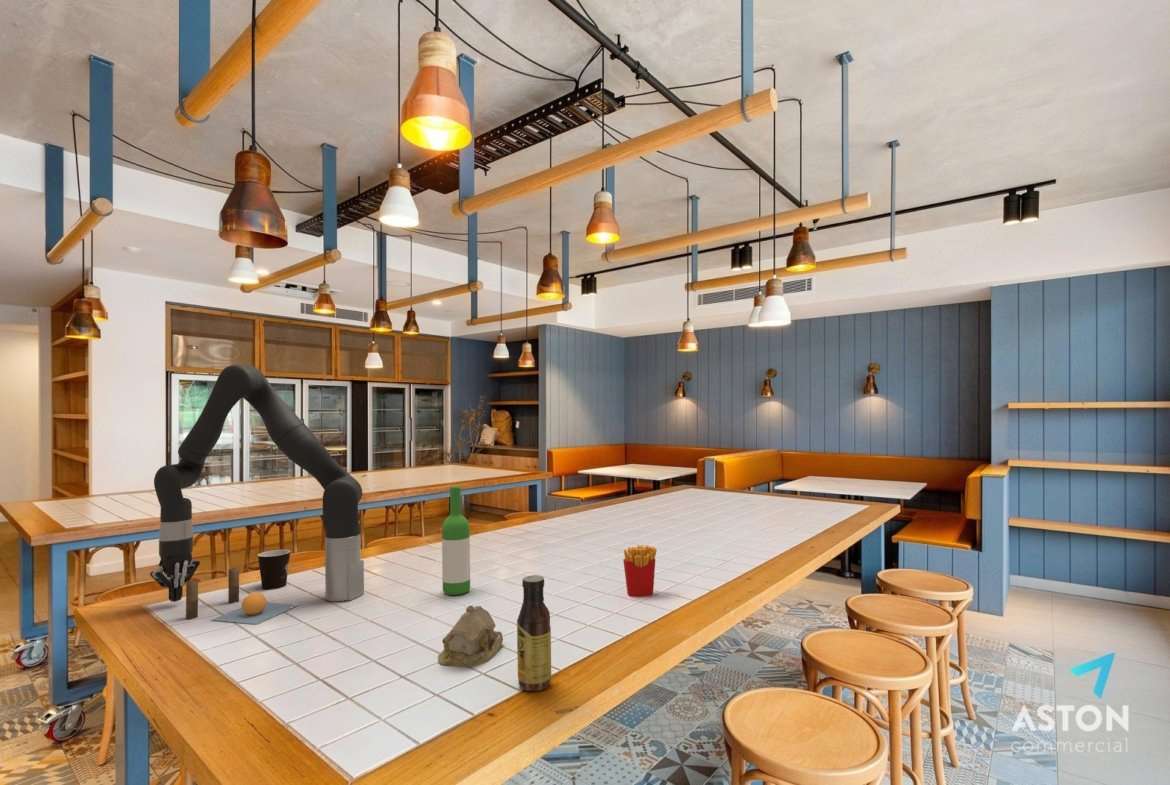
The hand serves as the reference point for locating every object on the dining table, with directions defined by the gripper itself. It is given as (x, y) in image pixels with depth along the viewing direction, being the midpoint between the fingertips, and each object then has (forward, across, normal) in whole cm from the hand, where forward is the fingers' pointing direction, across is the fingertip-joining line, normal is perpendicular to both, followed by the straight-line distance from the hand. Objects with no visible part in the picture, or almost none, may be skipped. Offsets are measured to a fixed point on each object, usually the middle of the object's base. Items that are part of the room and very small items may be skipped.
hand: (175, 600), depth 154 cm
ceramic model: (+2, -11, -94) cm, 95 cm away
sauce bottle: (+2, -22, -112) cm, 114 cm away
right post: (+2, +6, -13) cm, 15 cm away
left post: (+2, -6, -13) cm, 15 cm away
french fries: (+2, +34, -123) cm, 128 cm away
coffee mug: (+2, +22, -13) cm, 26 cm away
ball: (-1, -1, -27) cm, 27 cm away
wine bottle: (+2, +26, -71) cm, 76 cm away
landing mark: (+2, 0, -27) cm, 27 cm away
